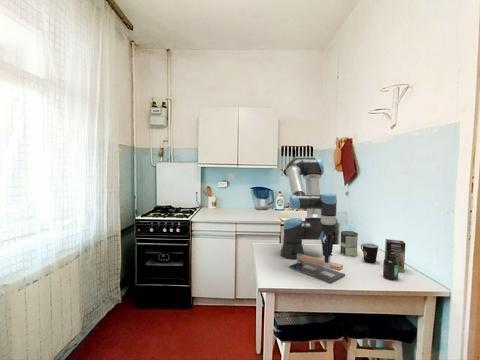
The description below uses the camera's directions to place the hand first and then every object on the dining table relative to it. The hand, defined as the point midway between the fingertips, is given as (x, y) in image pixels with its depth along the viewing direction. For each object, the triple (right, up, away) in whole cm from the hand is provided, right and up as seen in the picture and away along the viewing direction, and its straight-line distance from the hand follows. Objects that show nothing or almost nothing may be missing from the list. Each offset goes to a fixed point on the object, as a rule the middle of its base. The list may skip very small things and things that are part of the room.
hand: (327, 268), depth 139 cm
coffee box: (+40, -4, +10) cm, 42 cm away
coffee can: (+25, -3, +35) cm, 43 cm away
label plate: (-4, -4, +6) cm, 8 cm away
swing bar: (-3, 0, +7) cm, 7 cm away
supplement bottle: (+32, -5, -1) cm, 33 cm away
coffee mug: (+33, -3, +23) cm, 40 cm away
